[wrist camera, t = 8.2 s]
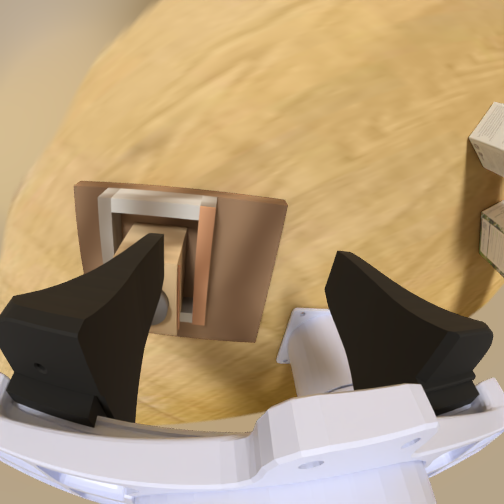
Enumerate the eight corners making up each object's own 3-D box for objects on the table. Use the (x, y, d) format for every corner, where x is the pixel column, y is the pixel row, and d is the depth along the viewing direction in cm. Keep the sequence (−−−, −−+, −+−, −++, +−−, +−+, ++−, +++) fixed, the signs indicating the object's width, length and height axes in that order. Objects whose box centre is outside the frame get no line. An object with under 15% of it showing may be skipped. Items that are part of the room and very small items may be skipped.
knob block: (189, 227, 21) (177, 272, 16) (185, 292, 24) (177, 344, 19) (134, 221, 20) (108, 264, 15) (137, 286, 23) (120, 336, 18)
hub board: (284, 199, 22) (293, 218, 19) (254, 333, 28) (257, 359, 26) (80, 181, 19) (59, 196, 16) (98, 316, 26) (88, 339, 23)
